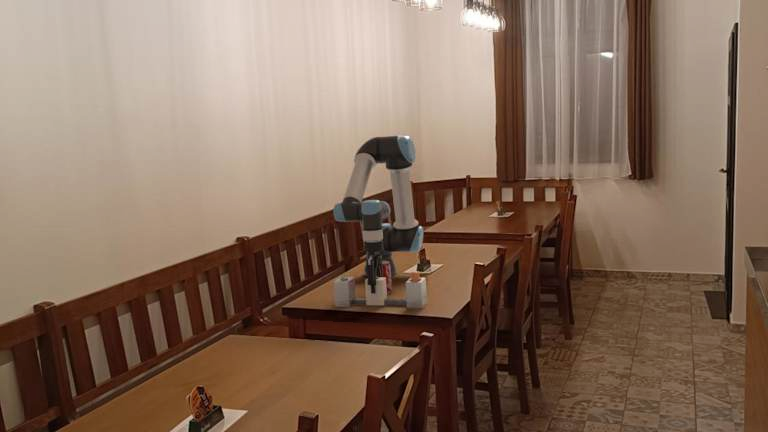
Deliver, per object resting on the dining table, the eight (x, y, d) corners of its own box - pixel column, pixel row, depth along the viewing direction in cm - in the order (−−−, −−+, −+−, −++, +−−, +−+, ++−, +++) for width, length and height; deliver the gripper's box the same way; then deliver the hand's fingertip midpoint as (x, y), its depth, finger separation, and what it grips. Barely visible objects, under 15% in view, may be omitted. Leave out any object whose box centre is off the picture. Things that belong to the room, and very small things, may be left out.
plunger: (413, 286, 268) (412, 271, 267) (420, 286, 267) (420, 271, 267) (411, 288, 265) (410, 273, 265) (419, 288, 265) (418, 273, 264)
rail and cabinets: (341, 301, 280) (340, 275, 279) (426, 302, 270) (425, 276, 269) (335, 306, 272) (333, 280, 271) (422, 308, 263) (421, 281, 261)
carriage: (370, 301, 275) (368, 274, 274) (387, 302, 273) (385, 274, 272) (366, 305, 270) (364, 277, 269) (383, 305, 268) (382, 277, 267)
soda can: (390, 294, 285) (388, 263, 284) (373, 294, 287) (371, 264, 285) (393, 290, 292) (392, 260, 290) (377, 290, 294) (375, 260, 292)
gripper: (370, 236, 278) (374, 292, 281) (356, 244, 261) (360, 305, 264) (389, 236, 276) (392, 293, 279) (375, 244, 259) (379, 305, 262)
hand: (376, 298), depth 272 cm, fingers closed on carriage, 5 cm apart
